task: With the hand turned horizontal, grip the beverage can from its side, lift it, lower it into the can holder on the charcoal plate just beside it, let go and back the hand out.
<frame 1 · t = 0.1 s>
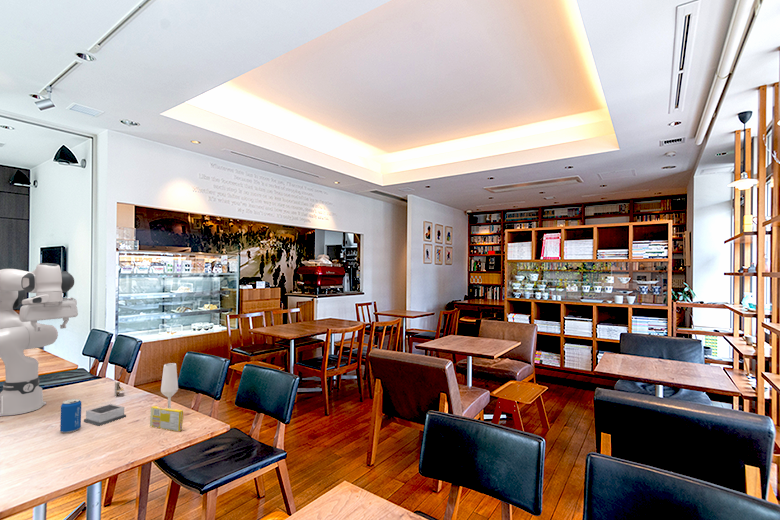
hand: (50, 329, 171), 39 cm above the table, tool pointing down, fingers open, 8 cm apart
champagne flute: (168, 419, 169), on the table
beverage can: (70, 431, 157), on the table
candy box: (166, 429, 160), on the table
architectural model: (117, 396, 201), on the table
can holder: (105, 419, 169), on the table
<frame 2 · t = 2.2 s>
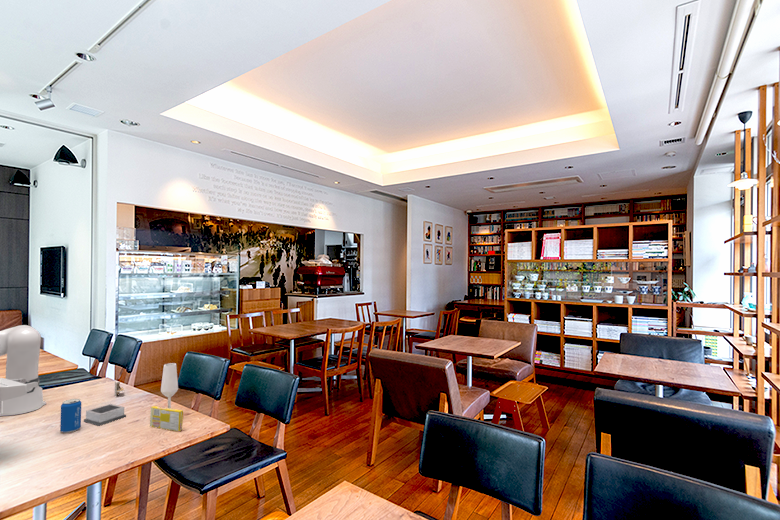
hand: (30, 382, 146), 23 cm above the table, tool horizontal, fingers open, 8 cm apart
nothing on the table moved.
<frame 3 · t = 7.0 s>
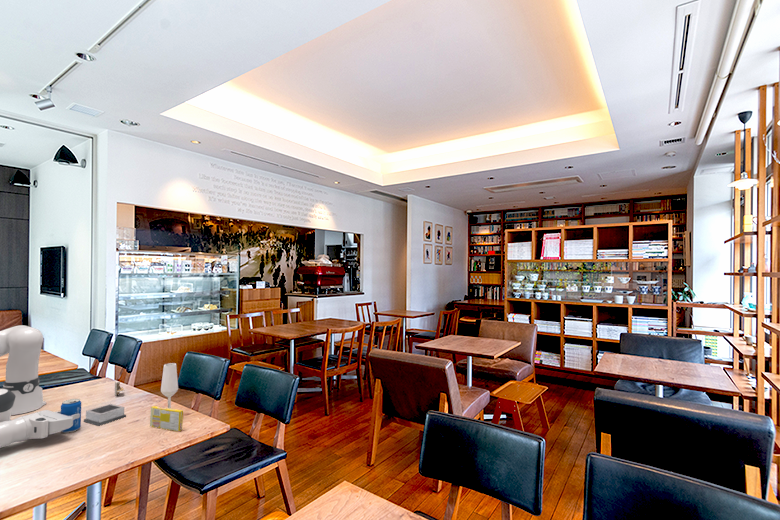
hand: (73, 413, 158), 7 cm above the table, tool horizontal, fingers closed on beverage can, 6 cm apart
beverage can: (70, 431, 157), on the table, touching gripper
everything else where it was.
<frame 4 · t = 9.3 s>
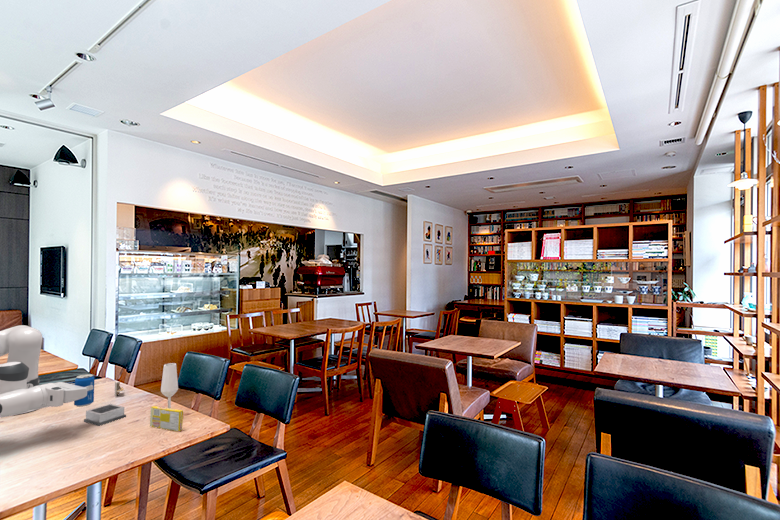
hand: (87, 385, 162), 17 cm above the table, tool horizontal, fingers closed on beverage can, 6 cm apart
beverage can: (83, 405, 161), point 9 cm above the table, touching gripper
everything else where it was.
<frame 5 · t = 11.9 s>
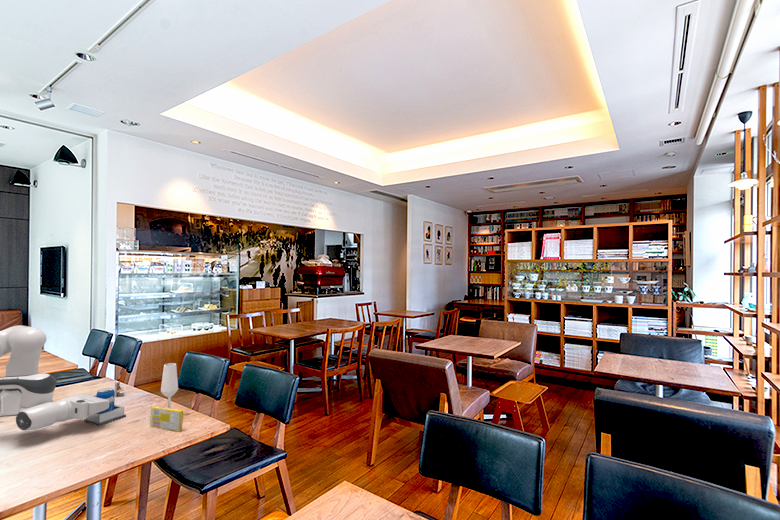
hand: (107, 397, 170), 9 cm above the table, tool horizontal, fingers closed on beverage can, 6 cm apart
beverage can: (105, 417, 169), point 1 cm above the table, touching can holder, gripper
everything else where it was.
when the fingers open (9 cm above the table, at t = 12.5 s): beverage can stays where it is, resting on can holder.
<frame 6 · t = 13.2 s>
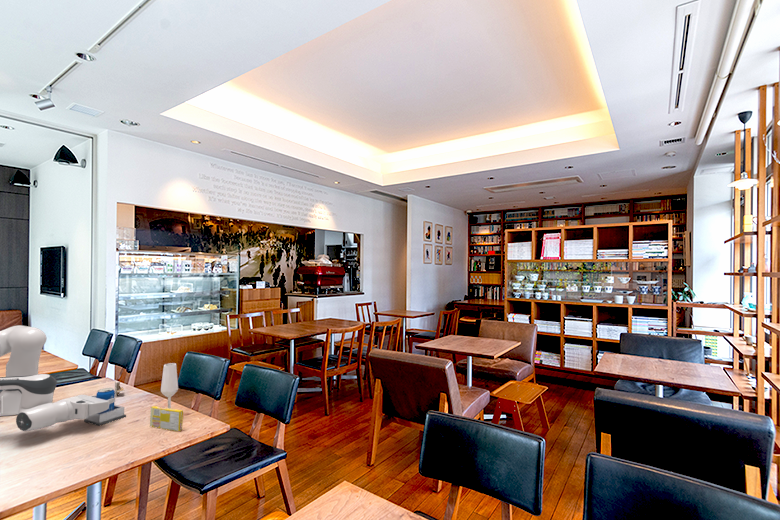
hand: (107, 398, 170), 9 cm above the table, tool horizontal, fingers open, 8 cm apart
beverage can: (105, 417, 169), point 1 cm above the table, touching can holder
everything else where it was.
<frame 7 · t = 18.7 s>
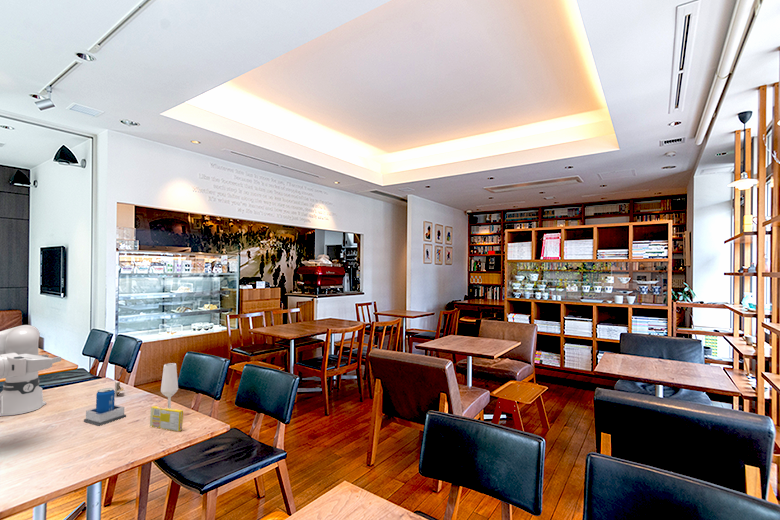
hand: (53, 357, 156), 30 cm above the table, tool horizontal, fingers open, 8 cm apart
nothing on the table moved.
at the end: beverage can 0.1 cm off-centre on the can holder, point 0.8 cm above the can holder's base; beverage can tilted 0°; the gripper is holding nothing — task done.
